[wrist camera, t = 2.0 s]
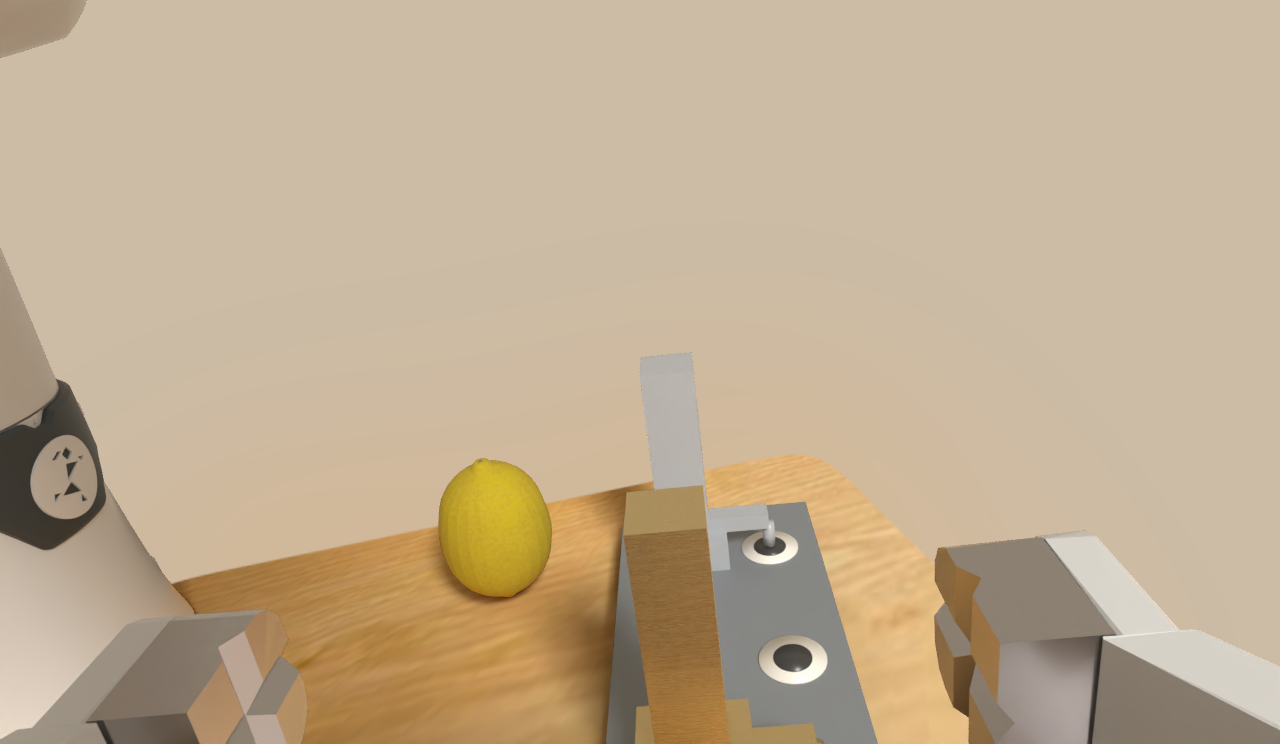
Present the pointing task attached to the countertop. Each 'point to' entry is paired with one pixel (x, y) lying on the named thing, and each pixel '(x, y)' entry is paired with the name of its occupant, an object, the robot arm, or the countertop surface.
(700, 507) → the brass leg
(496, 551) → the lemon
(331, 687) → the countertop surface
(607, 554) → the countertop surface
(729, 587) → the board
